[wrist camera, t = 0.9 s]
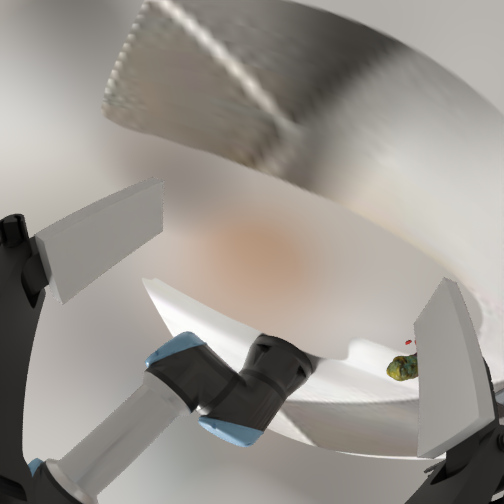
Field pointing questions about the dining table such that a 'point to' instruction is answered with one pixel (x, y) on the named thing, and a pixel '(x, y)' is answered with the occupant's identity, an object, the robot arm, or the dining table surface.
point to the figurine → (404, 367)
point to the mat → (500, 396)
